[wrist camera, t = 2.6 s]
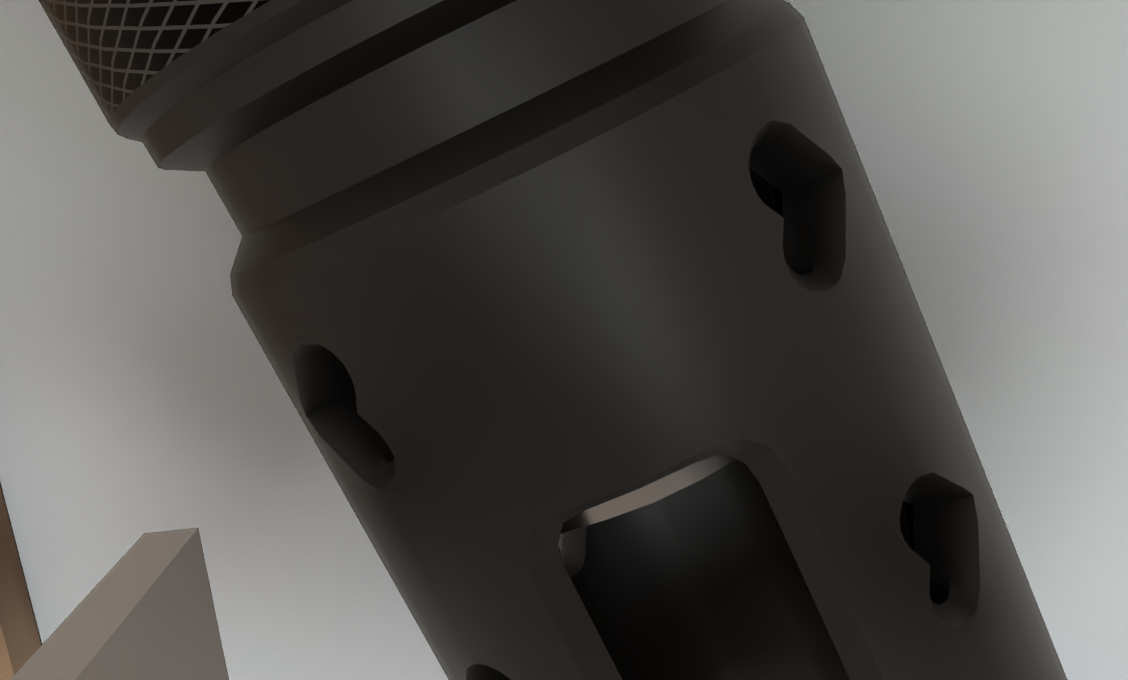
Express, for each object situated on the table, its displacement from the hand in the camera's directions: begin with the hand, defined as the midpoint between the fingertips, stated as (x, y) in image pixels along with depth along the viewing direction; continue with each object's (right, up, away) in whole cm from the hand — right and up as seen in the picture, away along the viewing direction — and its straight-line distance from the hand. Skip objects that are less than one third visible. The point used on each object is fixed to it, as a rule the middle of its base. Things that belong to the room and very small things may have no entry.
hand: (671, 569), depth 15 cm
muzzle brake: (0, +2, +8) cm, 8 cm away
